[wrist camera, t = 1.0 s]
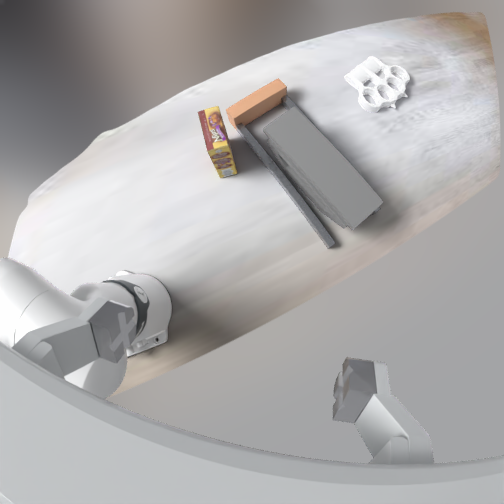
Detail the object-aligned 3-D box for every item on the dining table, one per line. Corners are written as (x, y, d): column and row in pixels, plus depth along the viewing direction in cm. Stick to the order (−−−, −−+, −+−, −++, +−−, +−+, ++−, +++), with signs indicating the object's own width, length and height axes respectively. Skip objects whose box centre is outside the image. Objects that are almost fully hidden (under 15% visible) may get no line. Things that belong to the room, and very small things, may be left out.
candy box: (239, 173, 67) (229, 145, 52) (220, 178, 67) (205, 152, 52) (230, 138, 68) (218, 104, 52) (211, 143, 68) (195, 111, 53)
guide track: (327, 248, 64) (329, 247, 62) (237, 130, 68) (235, 126, 65) (377, 211, 64) (380, 208, 61) (286, 100, 67) (286, 94, 65)
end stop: (237, 130, 68) (233, 118, 62) (229, 122, 68) (225, 109, 62) (286, 100, 67) (286, 86, 61) (278, 92, 68) (278, 78, 62)
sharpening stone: (367, 213, 64) (383, 202, 53) (341, 236, 64) (354, 229, 53) (291, 130, 67) (294, 106, 56) (265, 150, 67) (263, 128, 56)
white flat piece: (375, 55, 67) (417, 90, 66) (335, 86, 67) (380, 125, 66) (378, 48, 64) (421, 83, 62) (337, 79, 64) (384, 119, 62)
